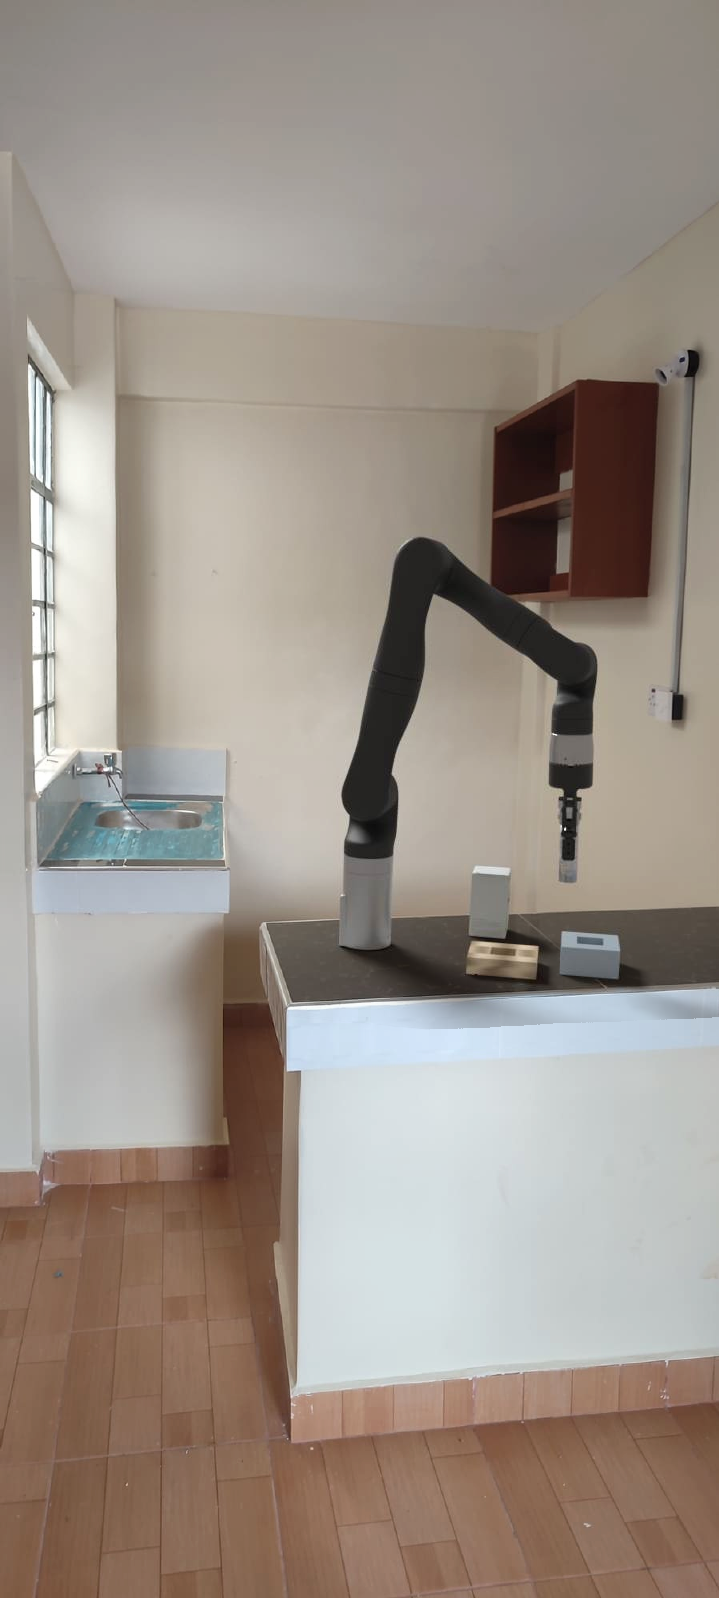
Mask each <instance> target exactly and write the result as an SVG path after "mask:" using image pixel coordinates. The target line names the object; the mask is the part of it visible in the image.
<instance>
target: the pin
mask: <svg viewBox="0 0 719 1598" xmlns="http://www.w3.org/2000/svg"><path fill="white" fill-rule="evenodd" d="M559 813H560V811H558V812H557V819H558V820H559ZM581 820H582V813H581V812H580V820H579V821H581ZM579 825H580V824H579ZM579 825H578V826H577V827H576V833H577V837H576V839H575V859H574V860H573V861H565V860H563V859H562V837H561V832H562V825H560V824H559V844H558V845H559V849H558V852H559V853H558V882H559V883H560V882H561V883H565V884H572V883H577V882H578V865H579V864H578V862H579V861H578V860H579V830H580V829H579V828H580V827H579ZM573 829H574V828H573V827H567V826H566V827H565V830H573ZM564 839H565V838H564Z"/></svg>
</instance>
